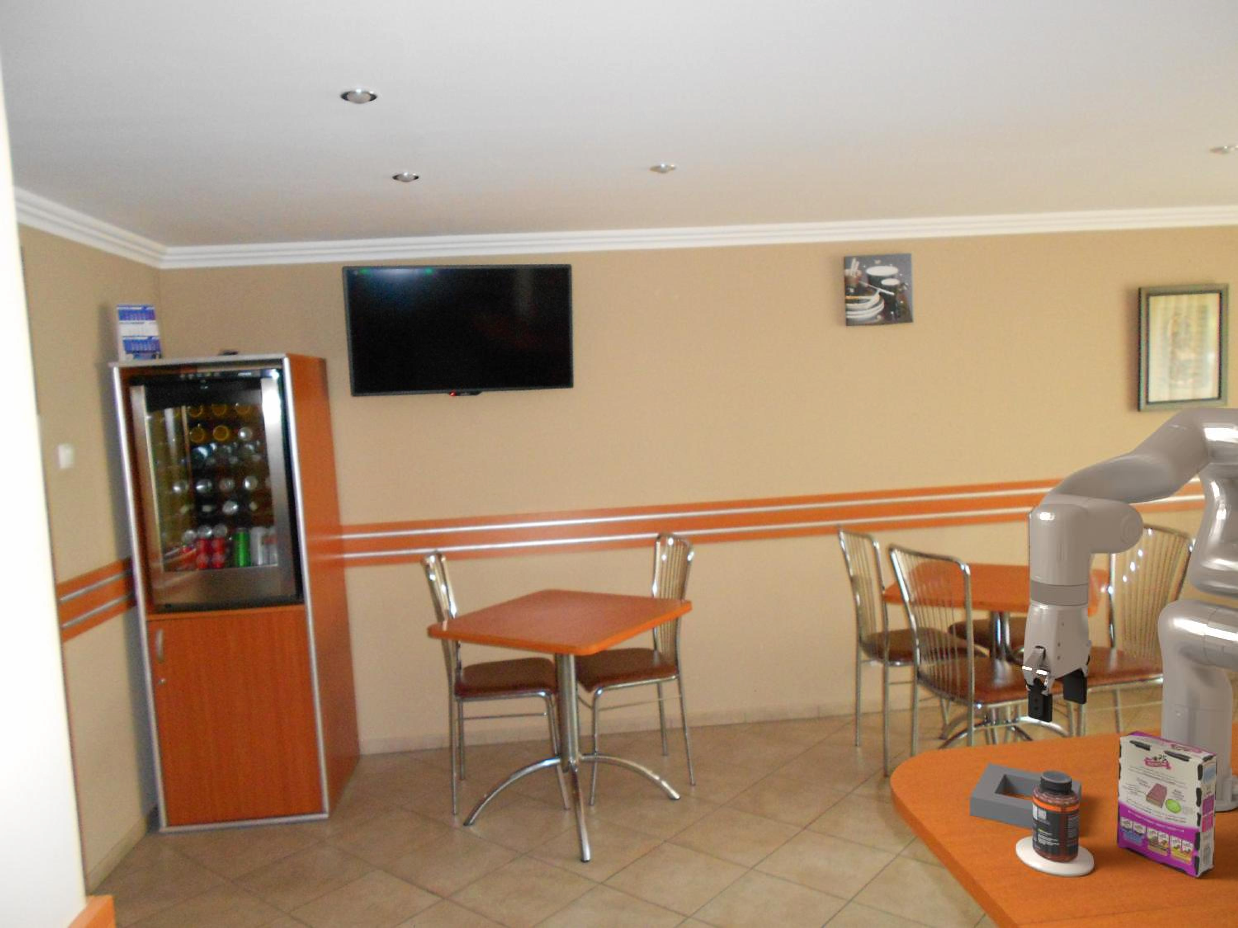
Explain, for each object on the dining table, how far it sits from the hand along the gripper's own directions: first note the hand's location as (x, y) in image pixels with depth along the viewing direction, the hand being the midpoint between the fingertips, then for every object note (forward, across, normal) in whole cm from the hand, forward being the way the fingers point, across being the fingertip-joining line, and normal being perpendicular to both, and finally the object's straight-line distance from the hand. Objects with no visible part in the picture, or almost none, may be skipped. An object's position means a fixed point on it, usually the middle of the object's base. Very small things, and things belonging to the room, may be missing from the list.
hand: (1057, 710), depth 130 cm
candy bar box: (+21, -9, +11) cm, 25 cm away
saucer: (+21, +3, +1) cm, 21 cm away
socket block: (+21, -9, -9) cm, 24 cm away
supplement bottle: (+20, +2, +1) cm, 20 cm away
